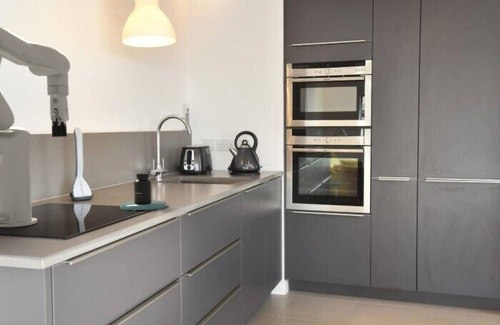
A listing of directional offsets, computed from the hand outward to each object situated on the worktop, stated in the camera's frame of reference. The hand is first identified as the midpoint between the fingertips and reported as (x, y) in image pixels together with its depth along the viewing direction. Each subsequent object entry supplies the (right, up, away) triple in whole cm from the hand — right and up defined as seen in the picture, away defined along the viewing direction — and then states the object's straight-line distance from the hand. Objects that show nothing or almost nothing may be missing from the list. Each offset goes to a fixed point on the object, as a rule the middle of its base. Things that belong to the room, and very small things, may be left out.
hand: (59, 136), depth 192 cm
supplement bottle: (+30, -26, +7) cm, 41 cm away
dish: (+30, -28, +7) cm, 42 cm away
